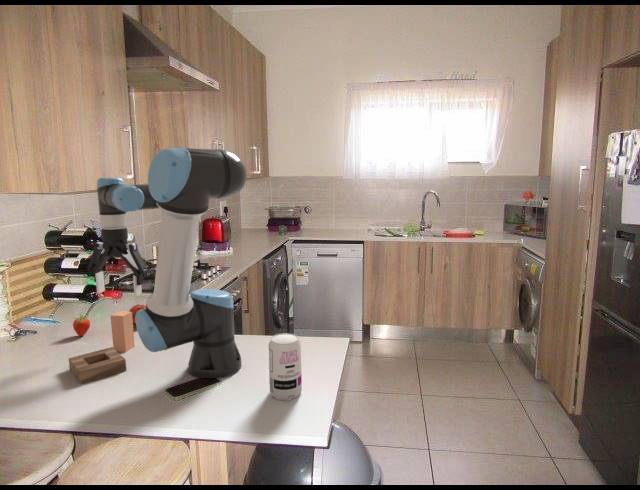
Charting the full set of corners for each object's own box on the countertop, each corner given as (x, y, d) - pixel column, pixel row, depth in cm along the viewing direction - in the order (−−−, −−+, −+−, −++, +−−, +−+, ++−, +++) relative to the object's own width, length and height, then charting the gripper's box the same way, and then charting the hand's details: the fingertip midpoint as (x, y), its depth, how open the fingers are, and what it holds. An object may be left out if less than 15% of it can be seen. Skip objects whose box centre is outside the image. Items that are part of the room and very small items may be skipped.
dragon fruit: (131, 325, 168) (154, 334, 164) (116, 319, 161) (141, 328, 157) (142, 305, 171) (165, 313, 167) (128, 298, 164) (152, 306, 160)
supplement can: (285, 382, 119) (284, 330, 116) (308, 392, 113) (307, 337, 111) (263, 394, 112) (261, 339, 110) (286, 405, 107) (285, 347, 105)
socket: (126, 370, 127) (125, 359, 126) (80, 383, 119) (79, 371, 118) (113, 357, 135) (112, 347, 135) (69, 369, 127) (68, 358, 127)
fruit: (79, 333, 157) (77, 311, 155) (93, 333, 156) (91, 311, 155) (70, 338, 151) (68, 316, 150) (85, 338, 151) (83, 316, 150)
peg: (134, 346, 144) (131, 311, 142) (125, 352, 140) (122, 316, 138) (122, 345, 145) (119, 310, 143) (113, 350, 141) (110, 315, 139)
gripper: (156, 227, 137) (160, 292, 140) (88, 225, 142) (94, 287, 146) (142, 230, 129) (146, 299, 133) (70, 228, 135) (77, 294, 139)
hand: (119, 293), depth 139 cm, fingers open, 13 cm apart
